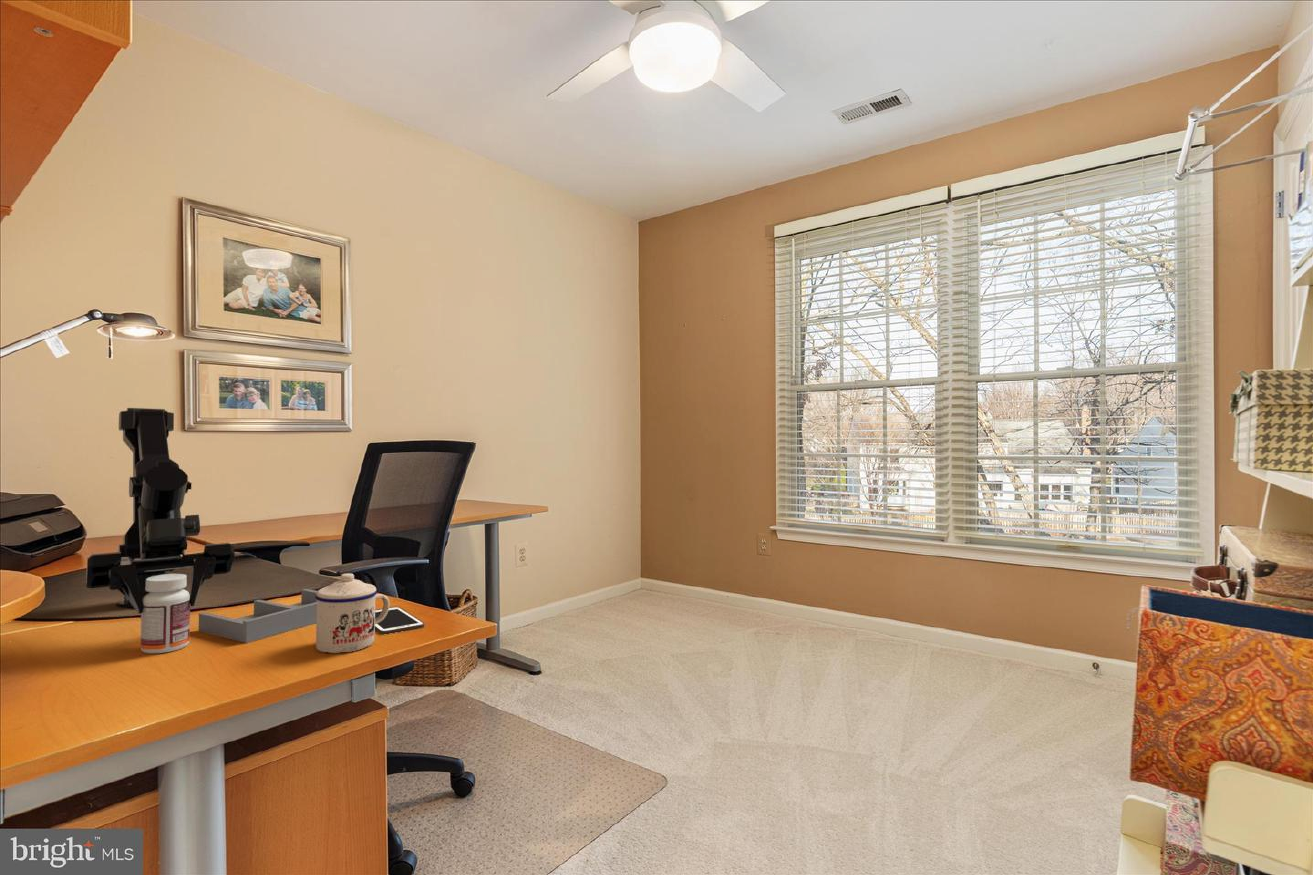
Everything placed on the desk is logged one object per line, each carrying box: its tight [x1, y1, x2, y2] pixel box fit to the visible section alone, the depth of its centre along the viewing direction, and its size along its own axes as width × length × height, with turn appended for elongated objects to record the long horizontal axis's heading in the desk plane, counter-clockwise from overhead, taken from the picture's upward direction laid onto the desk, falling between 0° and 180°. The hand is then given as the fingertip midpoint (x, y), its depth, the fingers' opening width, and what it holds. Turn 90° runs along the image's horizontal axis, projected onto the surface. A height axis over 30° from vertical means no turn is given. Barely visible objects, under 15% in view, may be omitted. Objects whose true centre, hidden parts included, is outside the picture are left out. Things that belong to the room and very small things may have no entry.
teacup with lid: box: [315, 573, 391, 654], centre depth 104 cm, size 12×9×12 cm
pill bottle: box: [140, 573, 191, 655], centre depth 99 cm, size 6×6×11 cm
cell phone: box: [375, 606, 425, 635], centre depth 116 cm, size 8×15×1 cm, turn 41°
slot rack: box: [198, 588, 319, 644], centre depth 114 cm, size 13×20×4 cm, turn 156°
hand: (167, 608), depth 98 cm, fingers closed on pill bottle, 6 cm apart
